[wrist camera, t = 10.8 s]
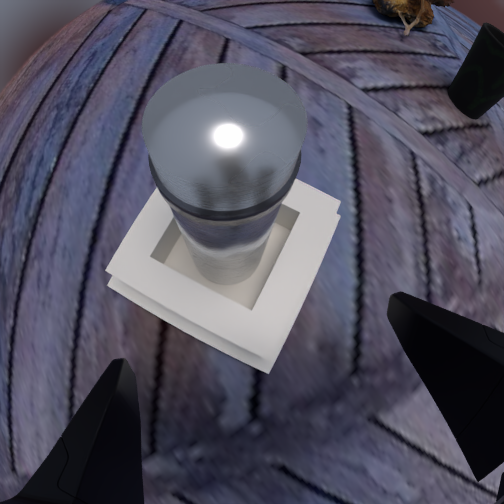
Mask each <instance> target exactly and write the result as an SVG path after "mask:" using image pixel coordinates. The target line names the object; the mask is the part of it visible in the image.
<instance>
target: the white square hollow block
mask: <svg viewBox="0 0 504 504" xmlns="http://www.w3.org/2000/svg"><path fill="white" fill-rule="evenodd" d="M340 202H341V201H339V200H337V199H335V198H333V197H331V196H329V195H327V194H325V193H324V192H322V191H320V190H318V189H316V188H314V187H312V186H310V185H307V184H305V183H303V182H301V181H299V180H297V179H295V181H294V183H293V186H292V188H291V190H290V192H289V193H288V195H287V197H286V198H285V199H284V200H283V201H282V204H281V206H280V209H279V212H278V215H277V217H276V220H275V223H274V226H273V228H272V231H271V234H270V237H269V239H268V242H267V245H266V248H265V250H264V253H263V256H262V259H261V261H260V264H259V266H258V268H257V269H256V271H255V272H254V273H253V274H252V275H251V276H250V277H249V278H248V279H246V280H245V281H243V282H240V283H238V284H233V285H220V284H216V283H213V282H211V281H209V280H208V279H206V278H205V277H204V276H202V275H201V274H200V272H199V271H198V270H197V268H196V266H195V264H194V262H193V260H192V257H191V255H190V253H189V251H188V248H187V246H186V244H185V241H184V239H183V237H182V234H181V232H180V230H179V227H178V225H177V223H176V220H175V218H174V215H173V213H172V211H171V208H170V206H169V204H168V203H167V202H166V201H165V200H164V198H163V197H162V195H161V194H160V192H159V190H158V188H156V190H155V191H154V192H153V194H152V195H151V197H150V198H149V200H148V201H147V203H146V205H145V206H144V208H143V209H142V211H141V212H140V214H139V215H138V217H137V218H136V220H135V222H134V223H133V225H132V226H131V228H130V230H129V231H128V233H127V235H126V236H125V238H124V239H123V241H122V243H121V244H120V246H119V248H118V249H117V251H116V253H115V255H114V256H113V258H112V260H111V261H110V263H109V265H108V267H107V269H106V270H105V271H107V272H108V273H110V274H112V275H113V276H112V278H111V279H110V281H109V283H108V285H107V286H109V287H110V288H112V289H113V290H115V291H117V292H118V293H120V294H121V295H123V296H125V297H126V298H128V299H129V300H131V301H133V302H134V303H136V304H137V305H139V306H141V307H142V308H144V309H146V310H147V311H149V312H151V313H153V314H154V315H156V316H158V317H159V318H161V319H163V320H165V321H166V322H168V323H170V324H172V325H173V326H175V327H177V328H179V329H181V330H182V331H184V332H186V333H188V334H190V335H191V336H193V337H195V338H197V339H199V340H201V341H203V342H205V343H206V344H208V345H210V346H212V347H214V348H216V349H218V350H220V351H222V352H224V353H226V354H228V355H230V356H232V357H234V358H236V359H238V360H240V361H242V362H244V363H246V364H248V365H250V366H252V367H254V368H257V369H259V370H261V371H263V372H265V373H267V374H269V373H270V371H271V369H272V367H273V365H274V363H275V361H276V359H277V357H278V355H279V353H280V351H281V349H282V347H283V345H284V343H285V341H286V338H287V336H288V334H289V332H290V330H291V328H292V326H293V324H294V322H295V320H296V318H297V315H298V313H299V311H300V309H301V307H302V305H303V302H304V300H305V298H306V296H307V294H308V291H309V289H310V287H311V285H312V283H313V280H314V278H315V276H316V274H317V271H318V269H319V267H320V264H321V262H322V260H323V257H324V255H325V253H326V250H327V248H328V246H329V243H330V241H331V238H332V236H333V234H334V231H335V229H336V226H337V224H338V221H339V219H340V215H338V214H337V213H336V212H337V210H338V207H339V205H340Z"/></svg>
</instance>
